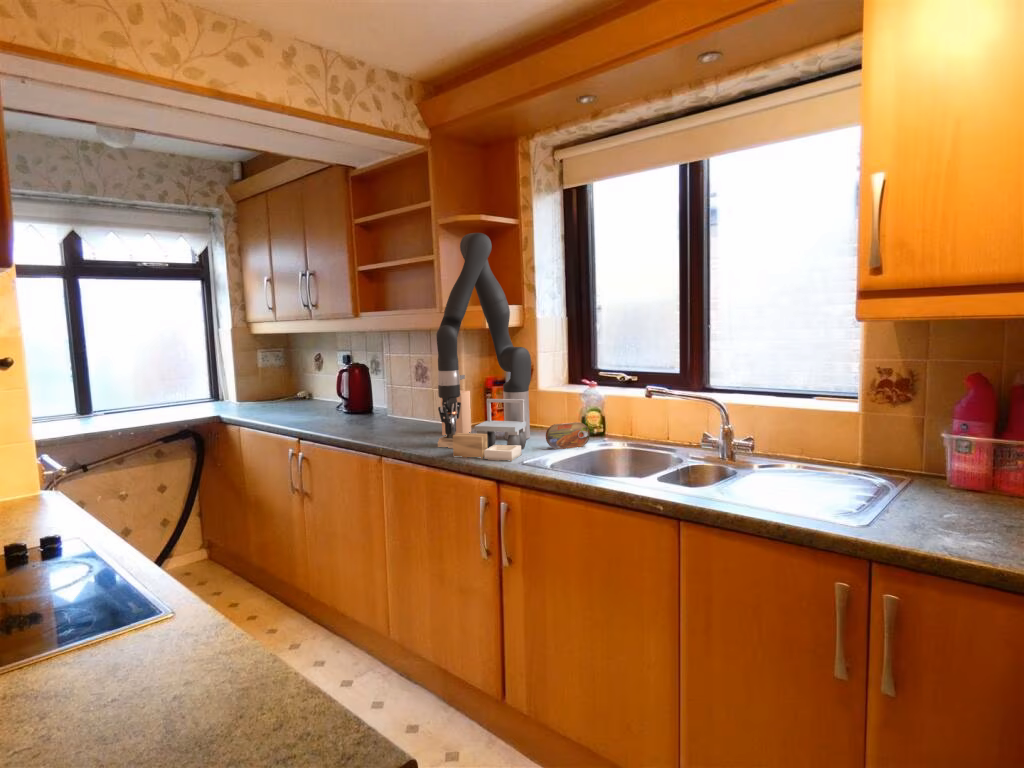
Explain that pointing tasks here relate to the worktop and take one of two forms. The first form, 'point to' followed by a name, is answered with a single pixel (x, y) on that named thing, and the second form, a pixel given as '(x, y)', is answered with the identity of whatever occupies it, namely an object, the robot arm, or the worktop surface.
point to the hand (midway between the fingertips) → (450, 432)
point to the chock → (469, 444)
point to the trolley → (504, 425)
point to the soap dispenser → (462, 413)
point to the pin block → (445, 442)
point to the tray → (502, 452)
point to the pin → (450, 436)
